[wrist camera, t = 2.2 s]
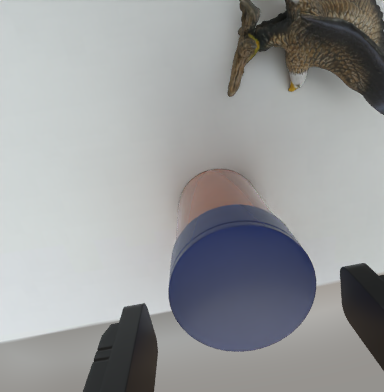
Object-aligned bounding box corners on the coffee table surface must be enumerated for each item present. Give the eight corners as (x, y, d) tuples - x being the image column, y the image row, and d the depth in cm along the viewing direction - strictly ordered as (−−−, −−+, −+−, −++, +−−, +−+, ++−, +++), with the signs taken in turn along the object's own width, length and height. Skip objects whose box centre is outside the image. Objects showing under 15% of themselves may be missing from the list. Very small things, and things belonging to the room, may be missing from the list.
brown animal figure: (225, 135, 18) (387, 152, 17) (226, 47, 11) (497, 65, 10) (240, 29, 20) (388, 38, 19) (250, -100, 13) (480, -99, 12)
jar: (252, 161, 20) (301, 211, 11) (263, 235, 22) (312, 327, 13) (170, 177, 20) (159, 238, 12) (187, 250, 22) (188, 349, 13)
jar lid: (291, 191, 13) (312, 210, 11) (303, 302, 15) (323, 338, 13) (158, 217, 13) (152, 242, 11) (185, 323, 15) (185, 362, 13)
